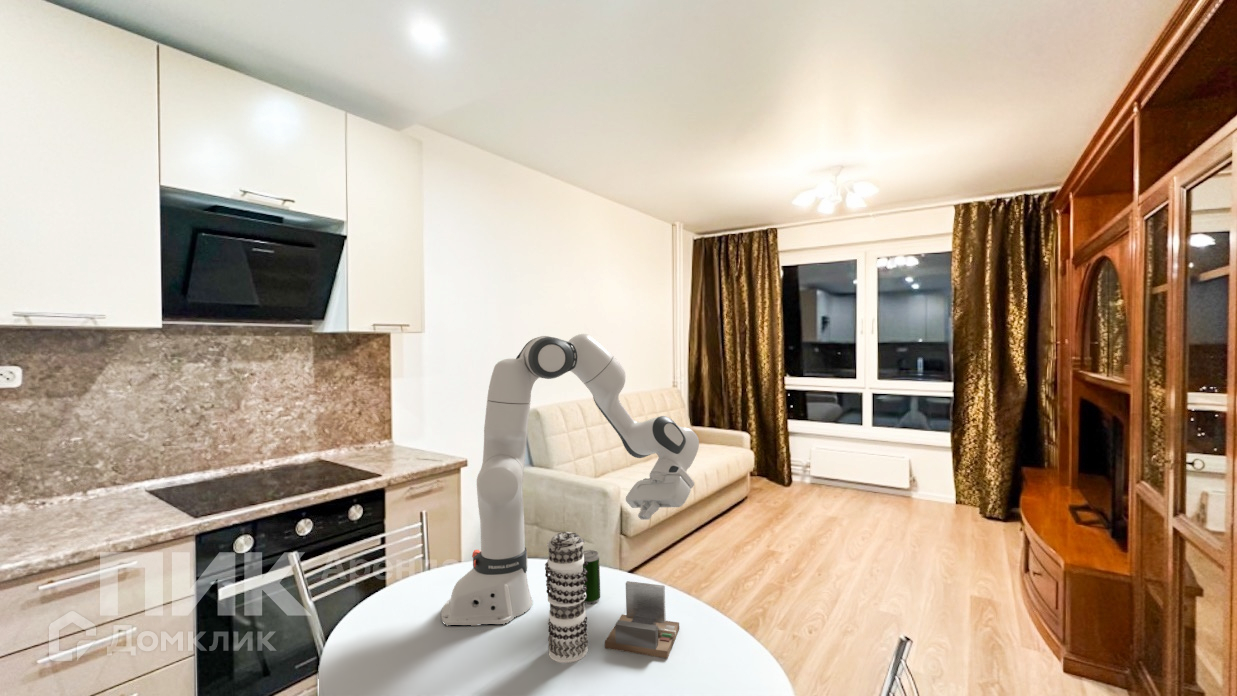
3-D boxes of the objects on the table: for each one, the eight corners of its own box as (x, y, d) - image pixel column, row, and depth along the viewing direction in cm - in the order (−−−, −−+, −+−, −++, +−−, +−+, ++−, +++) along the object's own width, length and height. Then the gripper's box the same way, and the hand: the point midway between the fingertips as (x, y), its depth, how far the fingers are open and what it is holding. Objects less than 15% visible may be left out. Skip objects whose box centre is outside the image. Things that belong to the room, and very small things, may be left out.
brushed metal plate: (628, 620, 120) (627, 581, 120) (678, 627, 116) (677, 587, 116) (621, 632, 115) (620, 591, 115) (673, 640, 111) (672, 597, 112)
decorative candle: (561, 636, 118) (558, 526, 118) (596, 644, 114) (593, 531, 114) (538, 657, 109) (535, 540, 110) (576, 667, 106) (573, 545, 106)
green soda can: (586, 606, 131) (585, 559, 131) (576, 598, 136) (575, 553, 136) (604, 600, 134) (603, 554, 134) (593, 592, 138) (592, 548, 139)
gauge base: (622, 620, 124) (621, 597, 124) (679, 629, 119) (678, 605, 119) (605, 648, 112) (604, 622, 112) (667, 658, 108) (666, 632, 108)
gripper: (634, 471, 150) (611, 510, 141) (686, 467, 134) (662, 509, 126) (647, 486, 151) (624, 525, 143) (699, 483, 136) (677, 526, 128)
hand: (643, 518), depth 134 cm, fingers closed
